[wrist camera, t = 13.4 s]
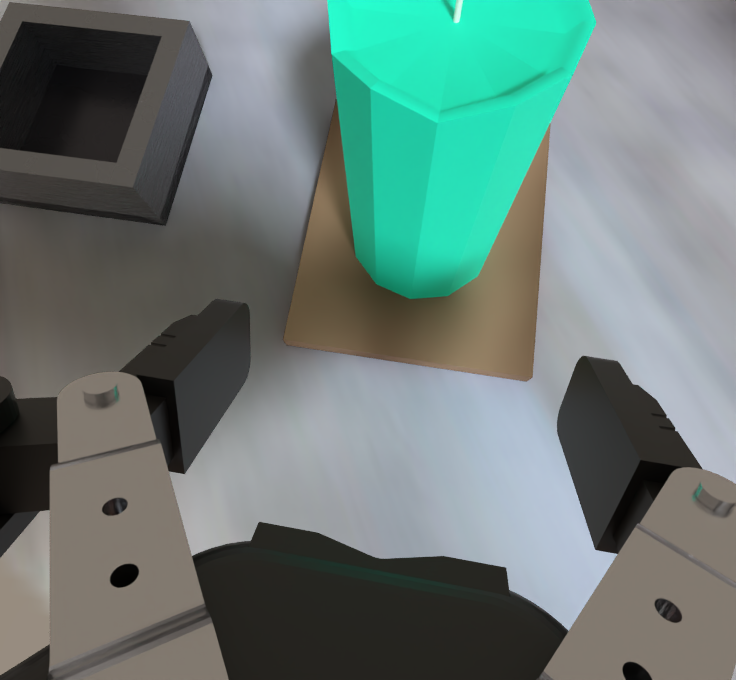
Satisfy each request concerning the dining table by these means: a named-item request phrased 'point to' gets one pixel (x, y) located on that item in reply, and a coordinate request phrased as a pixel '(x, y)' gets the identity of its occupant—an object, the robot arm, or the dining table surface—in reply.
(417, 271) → the candle
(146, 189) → the box
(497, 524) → the dining table surface
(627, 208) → the dining table surface
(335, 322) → the walnut board
